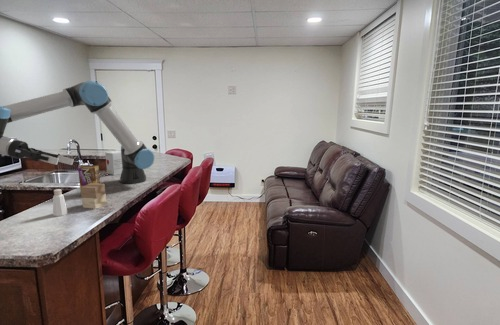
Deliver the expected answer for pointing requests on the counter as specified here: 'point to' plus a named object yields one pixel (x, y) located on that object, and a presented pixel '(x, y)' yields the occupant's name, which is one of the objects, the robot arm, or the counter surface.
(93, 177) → the candy box
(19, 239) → the counter surface
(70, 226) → the counter surface
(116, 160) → the supplement box
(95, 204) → the tower bottom
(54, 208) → the salt shaker
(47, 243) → the counter surface
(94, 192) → the tower top
